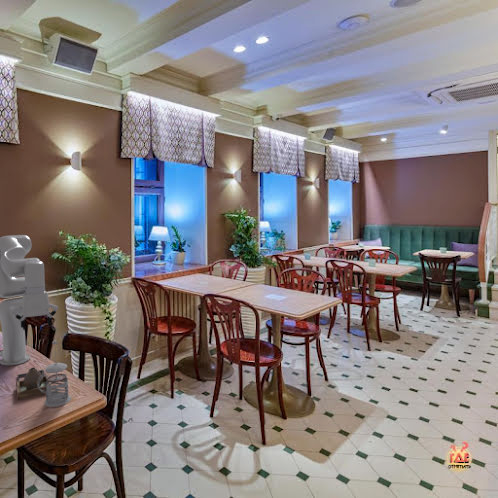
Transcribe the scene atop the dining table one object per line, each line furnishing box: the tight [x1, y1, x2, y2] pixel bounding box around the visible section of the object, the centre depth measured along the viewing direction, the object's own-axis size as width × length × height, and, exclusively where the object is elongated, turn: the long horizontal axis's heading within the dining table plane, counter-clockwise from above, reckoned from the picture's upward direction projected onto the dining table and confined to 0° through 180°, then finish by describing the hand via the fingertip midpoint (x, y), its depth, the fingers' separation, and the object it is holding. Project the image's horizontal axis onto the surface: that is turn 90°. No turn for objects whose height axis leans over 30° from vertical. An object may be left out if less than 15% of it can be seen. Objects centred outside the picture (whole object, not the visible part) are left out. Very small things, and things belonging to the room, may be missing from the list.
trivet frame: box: [17, 369, 45, 381], centre depth 169 cm, size 10×10×1 cm
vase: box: [23, 367, 43, 390], centre depth 158 cm, size 7×7×9 cm
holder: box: [16, 374, 51, 401], centre depth 159 cm, size 12×12×3 cm
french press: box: [37, 340, 72, 408], centre depth 149 cm, size 10×12×25 cm
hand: (36, 327), depth 166 cm, fingers open, 9 cm apart
